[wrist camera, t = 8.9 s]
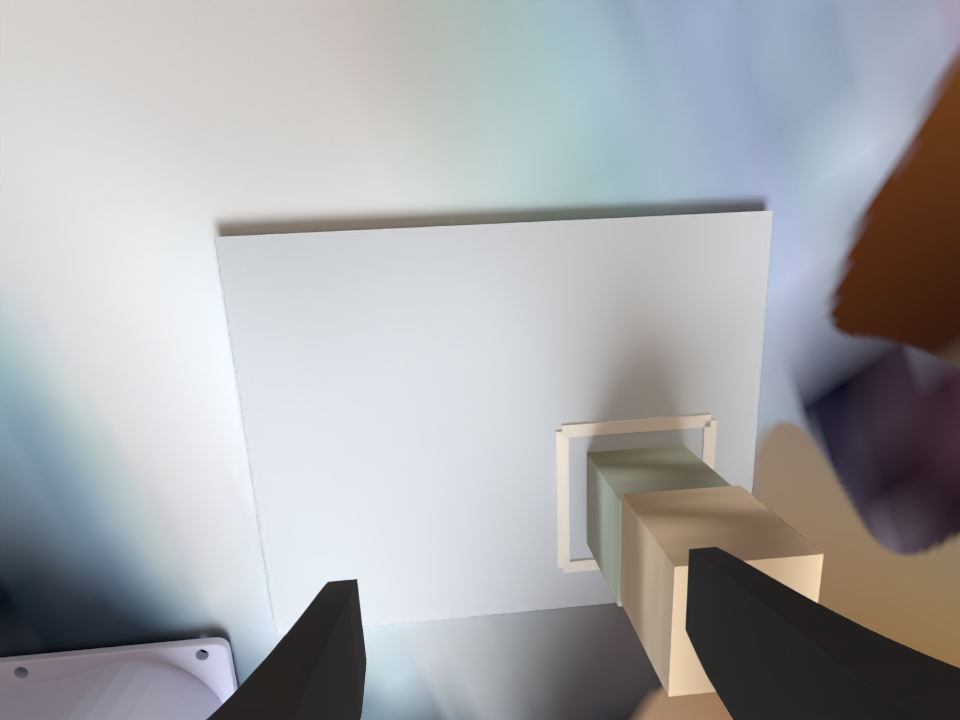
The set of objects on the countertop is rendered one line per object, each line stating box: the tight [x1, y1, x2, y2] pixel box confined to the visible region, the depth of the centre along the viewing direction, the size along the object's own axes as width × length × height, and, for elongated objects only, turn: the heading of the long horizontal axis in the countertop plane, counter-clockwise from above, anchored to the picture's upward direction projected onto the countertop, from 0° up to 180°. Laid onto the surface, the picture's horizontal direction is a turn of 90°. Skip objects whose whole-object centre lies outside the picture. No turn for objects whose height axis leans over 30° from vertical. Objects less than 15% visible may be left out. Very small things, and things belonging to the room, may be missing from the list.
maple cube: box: [620, 485, 824, 697], centre depth 17 cm, size 4×4×4 cm
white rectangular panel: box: [215, 211, 773, 636], centre depth 22 cm, size 20×16×1 cm
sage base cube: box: [587, 445, 731, 607], centre depth 20 cm, size 4×4×4 cm
